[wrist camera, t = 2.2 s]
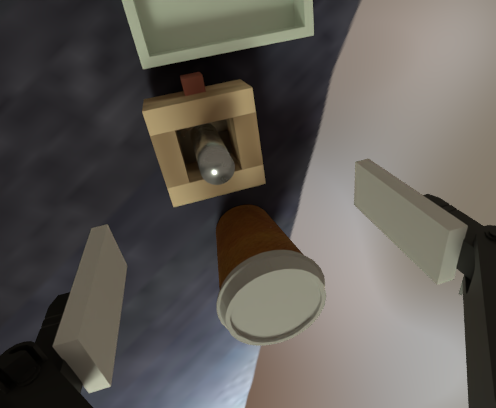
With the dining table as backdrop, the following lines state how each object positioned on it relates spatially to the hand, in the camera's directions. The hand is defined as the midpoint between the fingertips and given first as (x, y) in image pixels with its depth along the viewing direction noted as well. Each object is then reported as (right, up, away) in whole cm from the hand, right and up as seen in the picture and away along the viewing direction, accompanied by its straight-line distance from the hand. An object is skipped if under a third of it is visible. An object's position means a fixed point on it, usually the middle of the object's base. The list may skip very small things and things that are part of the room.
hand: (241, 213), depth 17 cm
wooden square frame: (-4, +6, +11) cm, 14 cm away
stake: (-4, +7, +13) cm, 15 cm away
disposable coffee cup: (0, -2, +19) cm, 20 cm away
